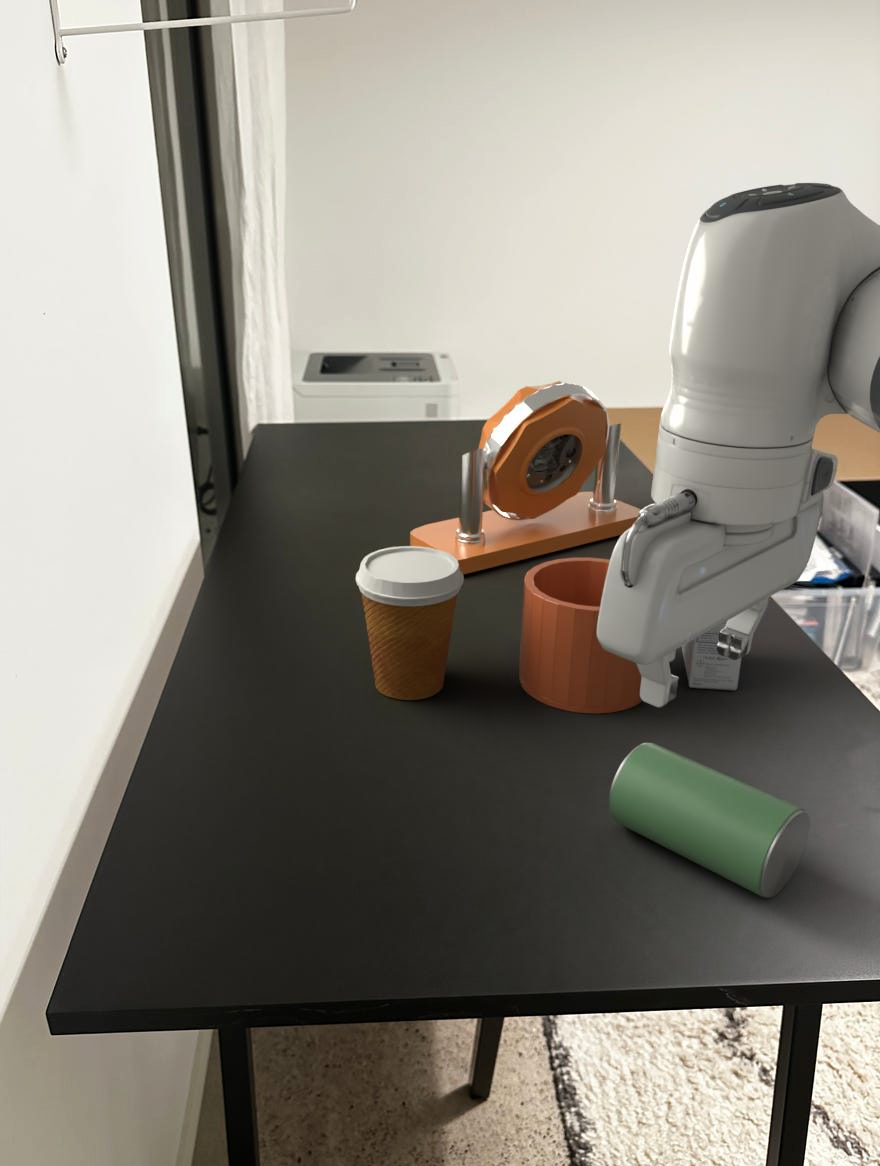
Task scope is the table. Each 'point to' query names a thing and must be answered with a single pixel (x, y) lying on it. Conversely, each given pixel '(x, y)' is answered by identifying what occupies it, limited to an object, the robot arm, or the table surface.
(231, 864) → the table surface
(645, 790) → the can
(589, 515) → the desk clock
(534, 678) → the holder
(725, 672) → the medicine box
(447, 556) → the disposable coffee cup
